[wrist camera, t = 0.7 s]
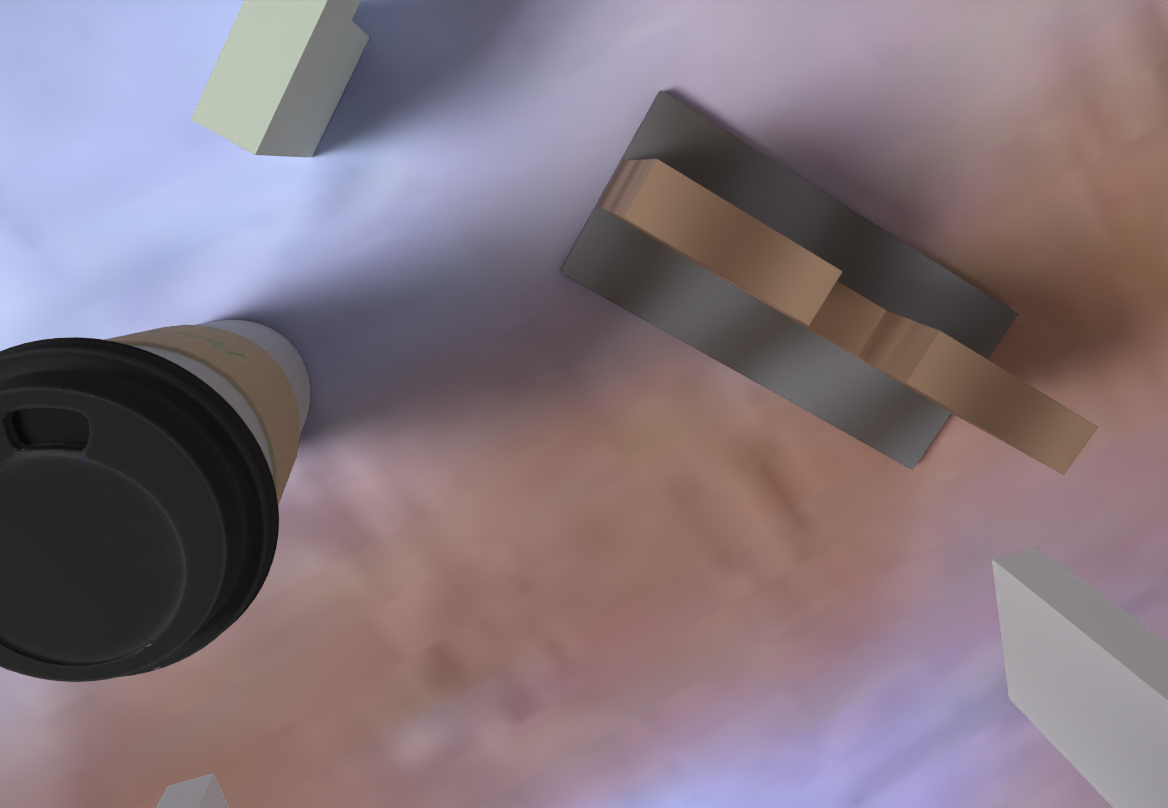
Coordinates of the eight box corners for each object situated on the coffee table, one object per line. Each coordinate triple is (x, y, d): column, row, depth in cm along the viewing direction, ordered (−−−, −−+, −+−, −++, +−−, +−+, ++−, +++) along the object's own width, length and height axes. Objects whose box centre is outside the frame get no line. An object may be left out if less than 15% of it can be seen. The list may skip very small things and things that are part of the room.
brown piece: (559, 270, 36) (576, 302, 27) (658, 91, 34) (708, 67, 26) (906, 465, 39) (1013, 545, 31) (1010, 311, 38) (1151, 352, 30)
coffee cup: (281, 235, 34) (120, 285, 20) (397, 438, 37) (328, 613, 23) (70, 339, 35) (-238, 462, 20) (200, 534, 37) (8, 766, 23)
